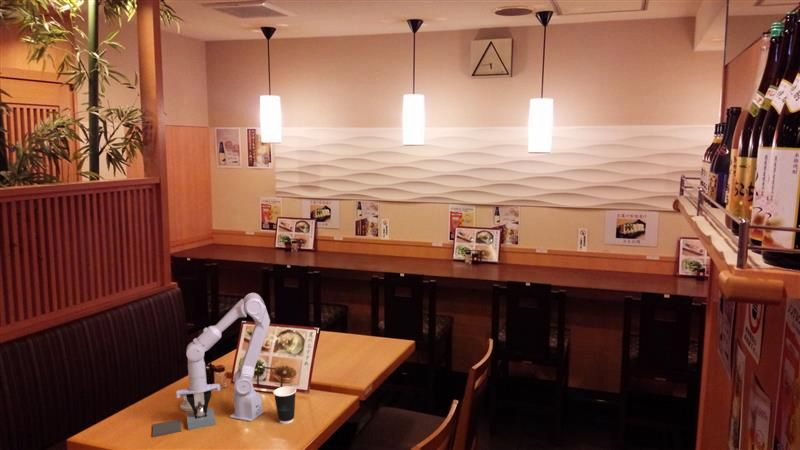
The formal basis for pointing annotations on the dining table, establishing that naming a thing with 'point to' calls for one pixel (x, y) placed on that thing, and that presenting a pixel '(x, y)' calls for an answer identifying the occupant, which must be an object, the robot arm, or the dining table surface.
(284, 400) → the dixie cup
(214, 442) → the dining table surface
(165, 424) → the key mat
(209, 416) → the socket block
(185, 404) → the mechanical component
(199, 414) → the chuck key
